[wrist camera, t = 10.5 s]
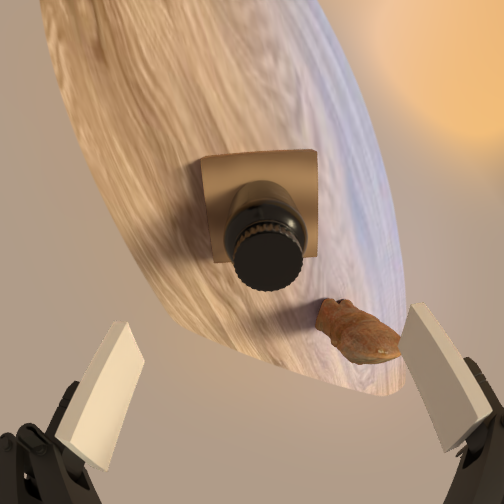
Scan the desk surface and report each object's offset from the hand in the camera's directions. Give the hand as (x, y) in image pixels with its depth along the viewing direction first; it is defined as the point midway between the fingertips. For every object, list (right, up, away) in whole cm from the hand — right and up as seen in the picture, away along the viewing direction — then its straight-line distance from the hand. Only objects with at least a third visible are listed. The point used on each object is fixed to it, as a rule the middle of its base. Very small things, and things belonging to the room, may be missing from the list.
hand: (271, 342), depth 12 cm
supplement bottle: (0, +9, +18) cm, 20 cm away
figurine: (+12, -3, +27) cm, 29 cm away
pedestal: (0, +10, +20) cm, 23 cm away
